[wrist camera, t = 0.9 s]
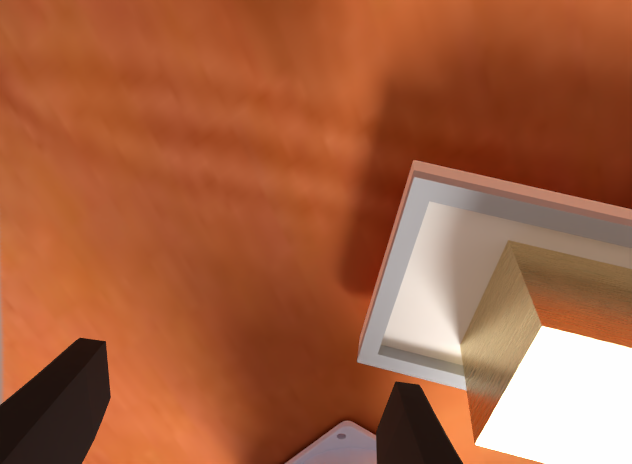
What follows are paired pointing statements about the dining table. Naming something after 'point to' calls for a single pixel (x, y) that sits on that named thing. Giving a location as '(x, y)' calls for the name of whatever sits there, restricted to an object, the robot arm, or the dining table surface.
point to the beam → (468, 260)
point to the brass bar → (552, 359)
